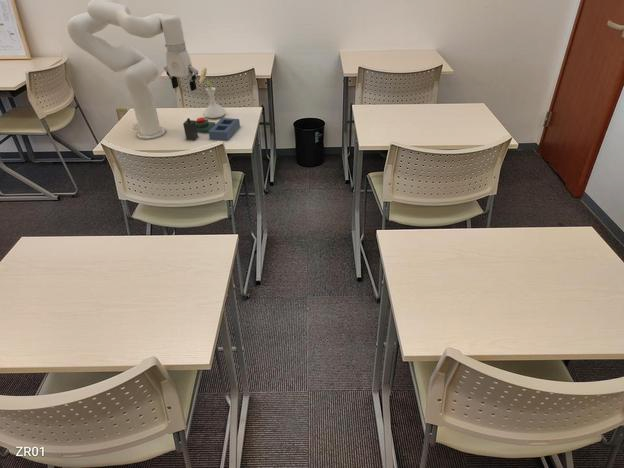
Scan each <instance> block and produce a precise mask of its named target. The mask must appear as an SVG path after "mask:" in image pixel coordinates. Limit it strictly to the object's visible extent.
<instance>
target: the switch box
mask: <svg viewBox="0 0 624 468" xmlns="http://www.w3.org/2000/svg"><path fill="white" fill-rule="evenodd" d="M204 119H205V123H201V124H198V123H197V119H196V120H194V121H195V123H196V128H197V133H198V134H209V130H210V129H211V128H212V127H213V126H214V125H215V124H216V122H215V121H209V120H208V119H206V118H204Z"/></svg>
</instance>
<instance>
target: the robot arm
mask: <svg viewBox="0 0 624 468" xmlns="http://www.w3.org/2000/svg"><path fill="white" fill-rule="evenodd" d="M109 25H113V26H117V27H120V28H122V30H123V31H125V32H126V33H127V34H129V35H131V36H135V37H139V38H142V39H152V38H154V37H156V36H158V35H160V34H163V36H164V41H165V44H164V46H165V48H166V51H165V58H166V59H165V61H166V66H165V67H164V68H163V70H164V71H165V73H166V75H167V76H168V78H169V79H170V82H171V86H172V89H173V90H174V89H177V88H178V87H179V82H178V78H187V79H188V80H189V82H188V83H189V88H190V91H191V92H193V91H196V90H197V83H196V80H197V78H198V76H199V70H198V69H196V68H195V67H193V64H192V60H191V57H190V54H189V51H188V49H187V47H186V42H185V41H186V40H185V36H184V32H183V26H182V21H181V17H180V16H179V15H178V14H174V13H173V14H172V13H171V14H166V13H161V12H154V13H152V14H148V15H147V16H144V17H139V16H135V15H132V13H131V10H130V8H129V7H128V6H127V5H125V4H122V3H120V2H119V1H118V0H90V1H89V2H88V3H87V6H86V11H85V12H82V13H79V14H76V15H74V16H72V17H71V18H70V19H68V21H67V24H66V30H67V33H68V35H69V38H70V39H71V40H72V42H73V43H74V44H75V45H76V46H77V47H78V48H80V49H81V50H83V51H84V52H86V53H88V54H89V55H91V56H92V57H94V59H96V60H97V61H99V62H100V63H101V64H103V65H104V66H106V67H107V68H108V69H110V70H111V71H113V72H115V73H121V72H123V76H122V77H123V78H122V79H123V82H124V84H125V86H126V89H127V91H128V93H129V97H130V100H131V102H132V106H133V110H134V115H135V118H136V121H137V123H133V124H132V130H133V131H134V130H135V131H136V130H137V133H136V135H137V137H138V138H139V139H143V140H151V139H156V138H160V137H162V136H163V135H164V134H165V133H166V129H165V128H164V127H163V126H161V124H160V123H161V122H160V119H159V115H158V111H157V107H156V102H155V98H154V94H153V92H152V91H151V89H150V88H149V86H148V85H149V84H150V83H152V82H154V81H155V80H157V78H158V77H159V75H160V72H159V68H158V65H157V64H156V63H155V62H154V61H153V60H152V59H150V58H149V57H147V56H146V55H145V54H143V53H142V52H141V51H140V50H138V49H137V48H136V47H134V46H132V45H130V44H120V45H119V46H113V45H112V44H110V43H109V42H108V41H106V40H104V39H103V38H101V37H99V36H95V35H94V34H95V33H98V32H101V31H103V30H104V29H105V28H107V27H108V26H109Z"/></svg>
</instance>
